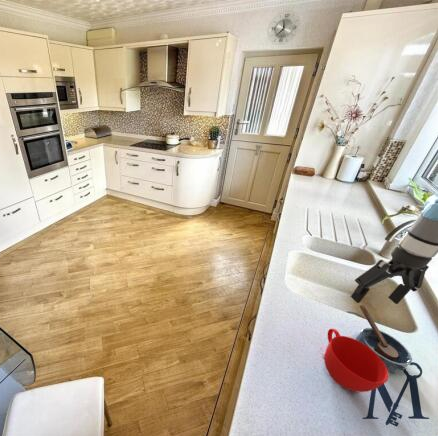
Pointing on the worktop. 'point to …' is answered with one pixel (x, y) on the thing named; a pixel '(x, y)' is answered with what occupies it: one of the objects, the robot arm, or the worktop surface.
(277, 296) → the worktop surface
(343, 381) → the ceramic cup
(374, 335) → the bowl
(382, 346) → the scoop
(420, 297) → the worktop surface
